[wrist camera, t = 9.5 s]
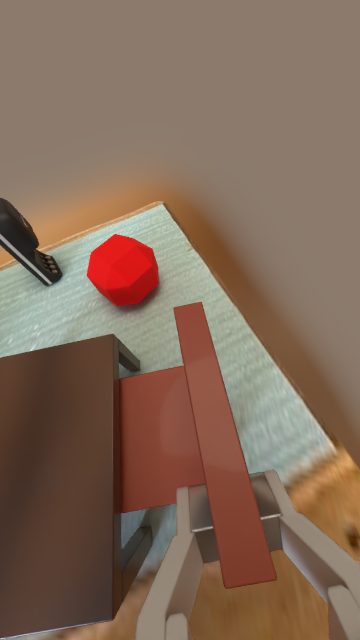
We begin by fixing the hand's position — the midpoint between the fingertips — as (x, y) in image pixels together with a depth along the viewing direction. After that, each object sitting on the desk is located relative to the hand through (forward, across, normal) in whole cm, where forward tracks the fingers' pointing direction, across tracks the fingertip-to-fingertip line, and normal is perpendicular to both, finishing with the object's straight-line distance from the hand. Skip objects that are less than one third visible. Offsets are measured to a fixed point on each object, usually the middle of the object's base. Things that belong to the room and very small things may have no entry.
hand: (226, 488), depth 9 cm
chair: (+10, +4, +6) cm, 13 cm away
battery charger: (+30, +21, -13) cm, 39 cm away
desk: (+10, +13, +6) cm, 18 cm away
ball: (+24, +7, -8) cm, 26 cm away
